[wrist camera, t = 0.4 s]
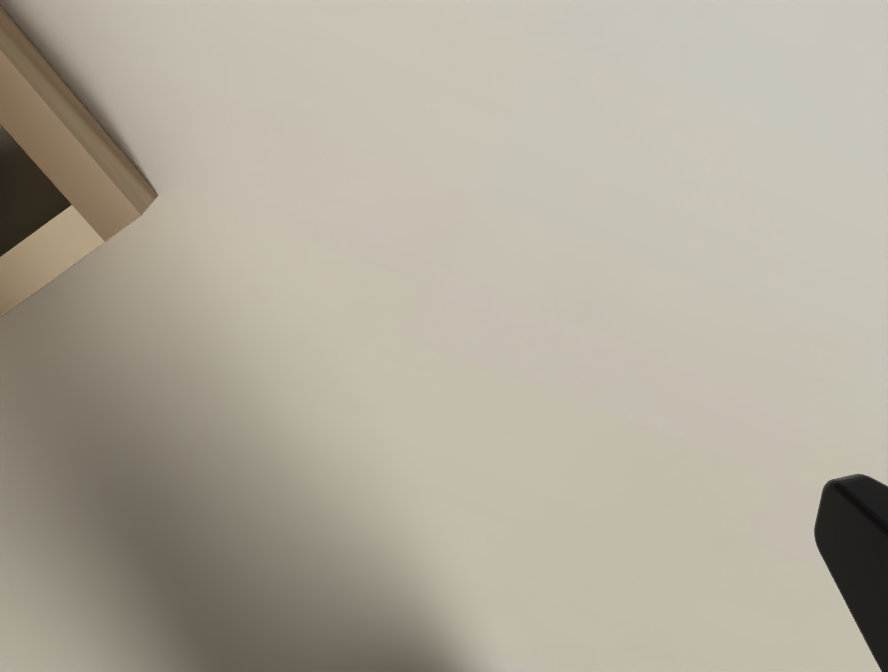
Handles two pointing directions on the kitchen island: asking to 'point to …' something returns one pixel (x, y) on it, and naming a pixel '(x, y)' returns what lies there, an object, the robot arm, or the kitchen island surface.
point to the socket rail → (60, 169)
